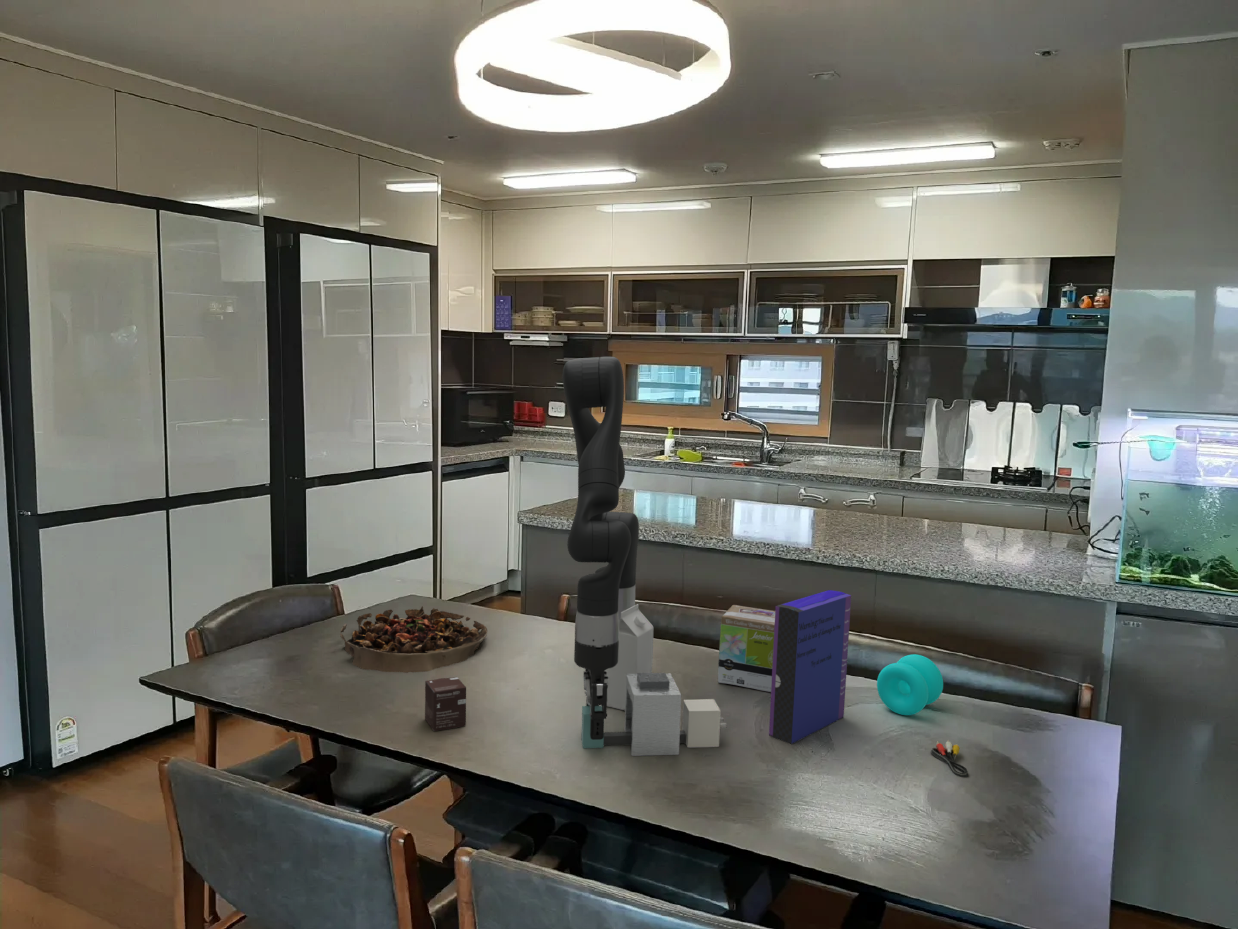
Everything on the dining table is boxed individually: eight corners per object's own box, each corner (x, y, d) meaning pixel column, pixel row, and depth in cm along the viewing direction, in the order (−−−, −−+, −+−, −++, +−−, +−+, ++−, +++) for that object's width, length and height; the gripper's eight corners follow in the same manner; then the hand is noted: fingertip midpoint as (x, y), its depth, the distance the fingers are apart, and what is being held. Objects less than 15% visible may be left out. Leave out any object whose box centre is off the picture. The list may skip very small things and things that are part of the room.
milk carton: (601, 706, 159) (604, 609, 157) (619, 694, 165) (622, 601, 163) (635, 714, 156) (638, 615, 154) (651, 701, 162) (654, 606, 160)
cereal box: (821, 710, 160) (828, 588, 158) (843, 717, 157) (851, 594, 154) (768, 735, 148) (775, 604, 146) (791, 744, 145) (798, 611, 142)
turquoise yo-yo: (943, 709, 163) (947, 660, 162) (922, 724, 155) (926, 672, 154) (895, 694, 169) (898, 647, 168) (872, 708, 162) (875, 658, 161)
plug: (581, 737, 145) (581, 701, 144) (720, 734, 148) (722, 699, 148) (583, 750, 140) (584, 713, 140) (727, 746, 143) (729, 710, 143)
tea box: (716, 684, 172) (719, 615, 171) (728, 669, 181) (731, 603, 180) (789, 697, 167) (792, 625, 165) (797, 680, 176) (801, 612, 174)
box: (432, 732, 146) (433, 692, 145) (424, 719, 151) (424, 680, 150) (466, 726, 148) (467, 687, 148) (456, 714, 154) (457, 675, 153)
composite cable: (970, 780, 135) (972, 765, 134) (939, 776, 135) (941, 762, 135) (956, 753, 144) (957, 739, 144) (928, 750, 145) (929, 736, 145)
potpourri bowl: (377, 623, 210) (378, 593, 210) (503, 635, 206) (504, 604, 205) (306, 666, 176) (307, 630, 175) (457, 681, 171) (458, 644, 171)
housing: (624, 730, 148) (626, 667, 147) (668, 729, 149) (670, 666, 148) (631, 756, 139) (634, 688, 137) (678, 754, 140) (681, 687, 138)
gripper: (572, 623, 147) (570, 711, 149) (577, 651, 133) (575, 747, 135) (614, 623, 148) (611, 710, 150) (624, 650, 134) (621, 746, 136)
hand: (594, 727), depth 143 cm, fingers open, 8 cm apart
